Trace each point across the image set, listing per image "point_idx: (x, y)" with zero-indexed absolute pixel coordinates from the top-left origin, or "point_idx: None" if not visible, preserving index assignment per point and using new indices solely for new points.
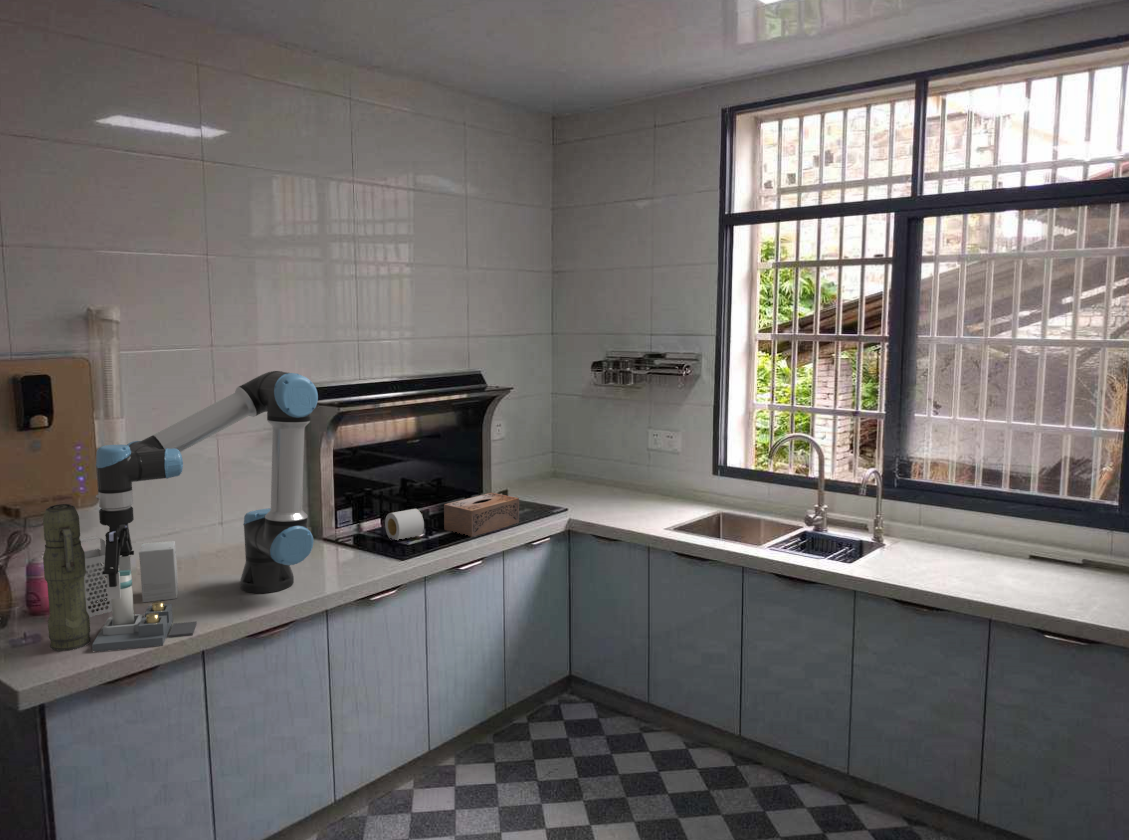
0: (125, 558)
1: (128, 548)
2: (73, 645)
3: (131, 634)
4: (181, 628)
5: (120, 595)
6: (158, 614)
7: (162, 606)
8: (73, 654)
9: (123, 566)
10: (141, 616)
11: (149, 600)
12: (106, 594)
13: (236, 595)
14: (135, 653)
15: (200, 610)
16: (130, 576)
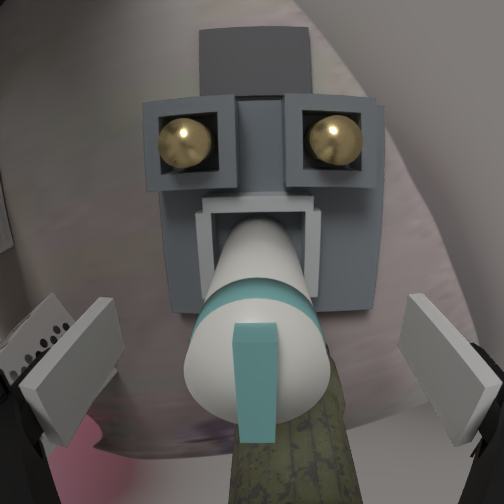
0: (54, 408)
1: (15, 454)
2: (328, 352)
3: (328, 211)
4: (257, 63)
5: (420, 300)
6: (336, 115)
7: (198, 122)
8: (360, 338)
9: (83, 382)
10: (226, 200)
11: (8, 230)
12: (7, 336)
13: (14, 12)
14: (411, 181)
15: (86, 56)
16: (272, 312)
